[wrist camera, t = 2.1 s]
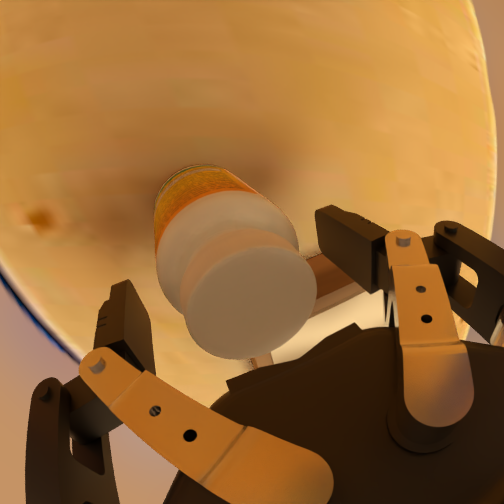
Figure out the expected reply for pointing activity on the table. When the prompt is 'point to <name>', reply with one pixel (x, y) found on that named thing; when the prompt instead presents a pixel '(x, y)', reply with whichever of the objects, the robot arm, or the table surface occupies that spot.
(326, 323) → the base slab
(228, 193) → the supplement bottle
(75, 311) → the table surface
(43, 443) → the robot arm
